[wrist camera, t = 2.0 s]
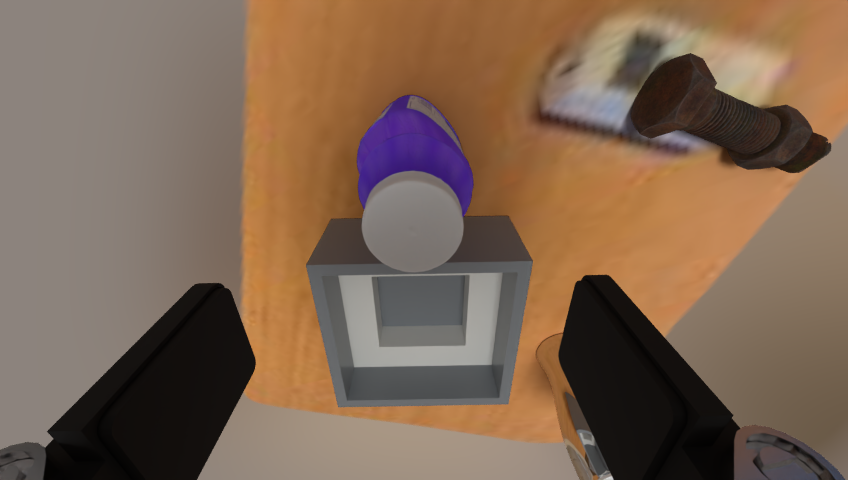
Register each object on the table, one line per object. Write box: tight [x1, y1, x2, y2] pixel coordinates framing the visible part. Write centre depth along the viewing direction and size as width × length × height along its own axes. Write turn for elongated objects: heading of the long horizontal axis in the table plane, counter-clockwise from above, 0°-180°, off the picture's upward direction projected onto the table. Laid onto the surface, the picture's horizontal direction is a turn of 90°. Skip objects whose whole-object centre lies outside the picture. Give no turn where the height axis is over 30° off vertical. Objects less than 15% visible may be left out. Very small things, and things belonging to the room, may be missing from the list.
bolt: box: [631, 53, 831, 173], centre depth 26 cm, size 6×5×15 cm
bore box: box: [306, 216, 533, 407], centre depth 32 cm, size 17×17×8 cm
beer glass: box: [536, 334, 613, 480], centre depth 34 cm, size 7×7×15 cm
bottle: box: [357, 95, 473, 272], centre depth 21 cm, size 7×6×17 cm
